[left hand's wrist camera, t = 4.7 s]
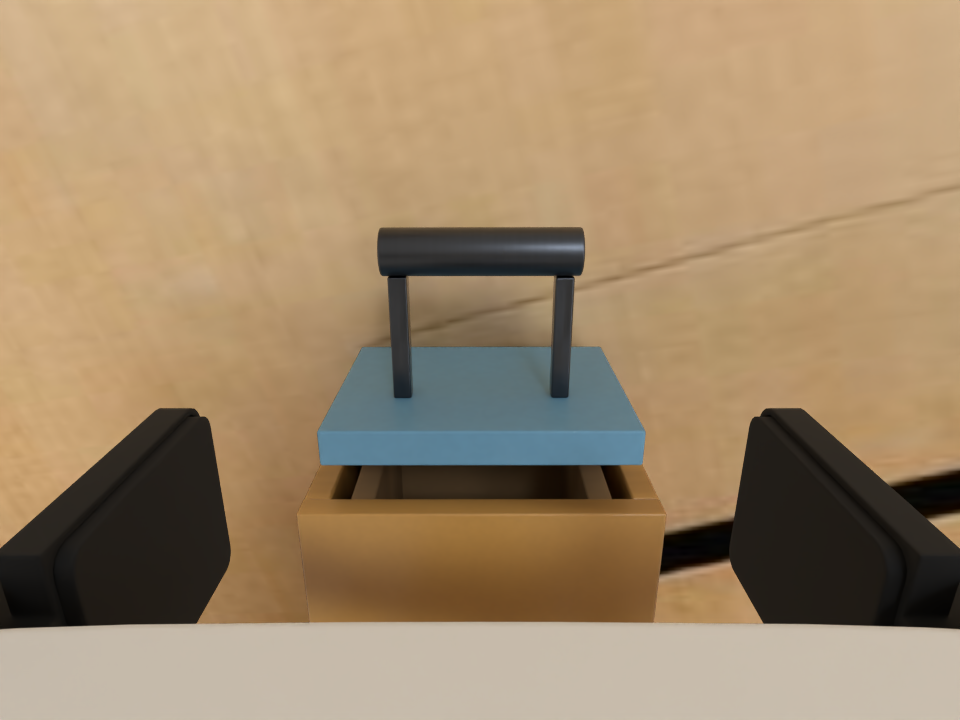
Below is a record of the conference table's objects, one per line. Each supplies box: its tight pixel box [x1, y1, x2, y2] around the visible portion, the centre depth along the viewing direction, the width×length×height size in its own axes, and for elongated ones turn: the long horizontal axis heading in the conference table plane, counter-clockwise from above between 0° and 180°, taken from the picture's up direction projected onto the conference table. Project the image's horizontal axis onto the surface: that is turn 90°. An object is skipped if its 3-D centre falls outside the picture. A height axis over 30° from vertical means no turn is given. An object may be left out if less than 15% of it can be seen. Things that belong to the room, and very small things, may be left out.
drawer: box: [317, 227, 646, 499], centre depth 25 cm, size 22×10×8 cm, turn 0°
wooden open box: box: [297, 465, 666, 623], centre depth 27 cm, size 17×11×10 cm, turn 0°
